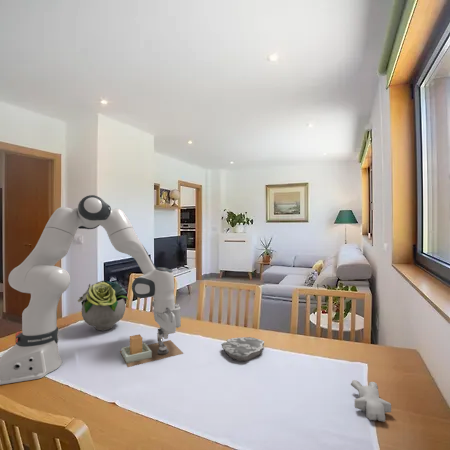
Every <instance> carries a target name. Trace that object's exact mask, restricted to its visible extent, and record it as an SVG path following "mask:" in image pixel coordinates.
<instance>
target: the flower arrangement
mask: <svg viewBox="0 0 450 450" xmlns="http://www.w3.org/2000/svg"><path fill="white" fill-rule="evenodd" d="M127 294H128V292H127V291H126V288H124V287H123V286H122V285H121V284H119V283H118V281H114V282H113V281H109V280H108V281H107V280H99V281H97V282H95V283H93V284H92V285H91V283H89V284H88V286H87V289H86V291H85V292H84V293H82V296H80V297H79V299H78V300H77V302H78V303H80V302H81V317H82V319H83V321H84V322H85V323H86V324H88V325H89V326H91V327H94V329H96V331H107V330H111V329H112V328H113V327H114V325H115V324H117V323H119V321H121V320H122V319H123V317H124V315H125V312H126V301H125V299H126V300H127V301H130V300H129V298H128V296H126V295H127Z"/></svg>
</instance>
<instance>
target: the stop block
mask: <svg viewBox="0 0 450 450" xmlns="http://www.w3.org/2000/svg"><path fill="white" fill-rule="evenodd" d="M142 343H143V337H142V335H141V334H133V335H130V336H129V346H130V355H133V354H137V353H142Z"/></svg>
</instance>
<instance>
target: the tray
mask: <svg viewBox="0 0 450 450" xmlns="http://www.w3.org/2000/svg"><path fill="white" fill-rule="evenodd" d="M147 345H148V344H147V343H146V342H142V353H137V354H133V355H130V345H128V346H122V347H121V351H122V355H121V357H122V356H123V357H122V359H123V358H124V359H123V360H125V361H124V363H125V362H126V363H125V365H126V364H127V363H131V362H135V361H139V360H143V359H147V358H152V351H151V350H150V348H149V347H148V346H147Z"/></svg>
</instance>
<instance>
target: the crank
mask: <svg viewBox="0 0 450 450" xmlns="http://www.w3.org/2000/svg"><path fill="white" fill-rule="evenodd" d="M156 334H157V335H156V336H157V339H156V340H157V343H158V345H159V351H161V352H164V351H166V350H167V346H165V345H164V343H163V342H164V341H163V340H164V338H163V333H162V330H161V328H157V333H156Z"/></svg>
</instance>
